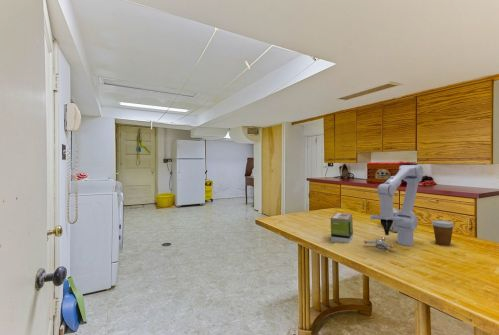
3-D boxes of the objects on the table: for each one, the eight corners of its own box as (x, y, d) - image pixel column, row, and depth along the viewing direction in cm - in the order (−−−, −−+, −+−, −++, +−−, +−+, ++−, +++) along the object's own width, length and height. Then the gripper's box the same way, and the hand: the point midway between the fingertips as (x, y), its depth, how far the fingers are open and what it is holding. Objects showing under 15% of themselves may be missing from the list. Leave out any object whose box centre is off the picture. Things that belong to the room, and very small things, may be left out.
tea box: (336, 235, 153) (335, 212, 152) (353, 237, 147) (353, 213, 147) (330, 242, 140) (330, 217, 139) (349, 245, 135) (349, 218, 134)
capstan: (363, 245, 130) (363, 238, 130) (383, 242, 135) (382, 235, 135) (382, 253, 118) (382, 246, 118) (403, 249, 123) (403, 242, 123)
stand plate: (370, 243, 137) (370, 240, 137) (393, 246, 131) (393, 243, 131) (366, 251, 125) (366, 247, 125) (391, 255, 119) (391, 251, 119)
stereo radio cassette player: (406, 233, 154) (406, 201, 153) (392, 233, 155) (392, 201, 155) (392, 224, 174) (392, 196, 174) (380, 224, 176) (379, 196, 175)
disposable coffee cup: (448, 241, 137) (448, 220, 136) (458, 247, 128) (457, 224, 127) (429, 240, 139) (428, 219, 139) (436, 246, 130) (436, 223, 130)
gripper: (369, 208, 123) (370, 234, 124) (403, 210, 115) (403, 238, 116) (371, 205, 129) (371, 231, 130) (403, 207, 121) (404, 234, 122)
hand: (387, 234), depth 123 cm, fingers closed
